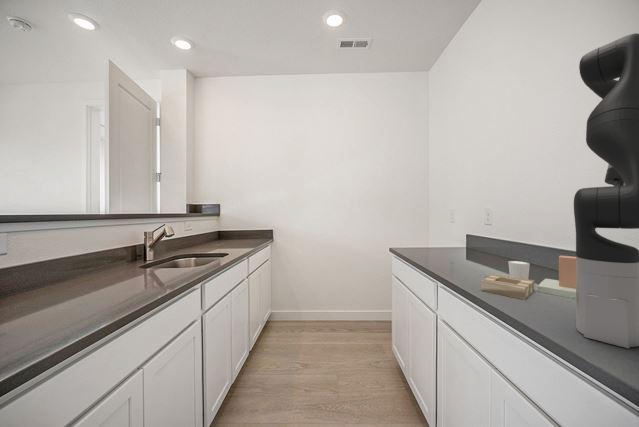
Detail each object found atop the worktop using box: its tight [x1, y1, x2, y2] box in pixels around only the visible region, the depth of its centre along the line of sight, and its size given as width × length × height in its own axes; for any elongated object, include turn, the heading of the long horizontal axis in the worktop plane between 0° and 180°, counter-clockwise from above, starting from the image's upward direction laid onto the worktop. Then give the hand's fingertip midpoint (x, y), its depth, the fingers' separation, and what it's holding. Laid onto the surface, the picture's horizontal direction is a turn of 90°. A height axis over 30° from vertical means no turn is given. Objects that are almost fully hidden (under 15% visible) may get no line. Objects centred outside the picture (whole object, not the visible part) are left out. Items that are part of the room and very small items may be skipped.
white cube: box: [507, 260, 531, 279], centre depth 100 cm, size 7×7×7 cm
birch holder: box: [480, 273, 536, 300], centre depth 86 cm, size 14×12×4 cm
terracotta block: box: [558, 255, 576, 289], centre depth 84 cm, size 4×4×10 cm
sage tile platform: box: [537, 278, 576, 300], centre depth 84 cm, size 14×14×2 cm
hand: (613, 217), depth 78 cm, fingers open, 8 cm apart
